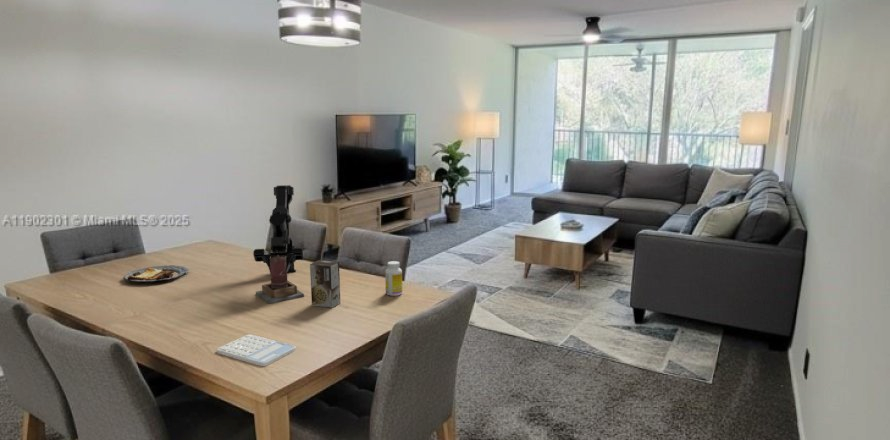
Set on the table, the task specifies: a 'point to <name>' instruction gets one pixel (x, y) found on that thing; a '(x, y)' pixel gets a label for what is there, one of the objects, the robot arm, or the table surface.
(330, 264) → the coffee box
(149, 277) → the food plate
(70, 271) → the table surface
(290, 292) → the collar
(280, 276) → the can
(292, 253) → the robot arm
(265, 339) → the calculator
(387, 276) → the supplement bottle
